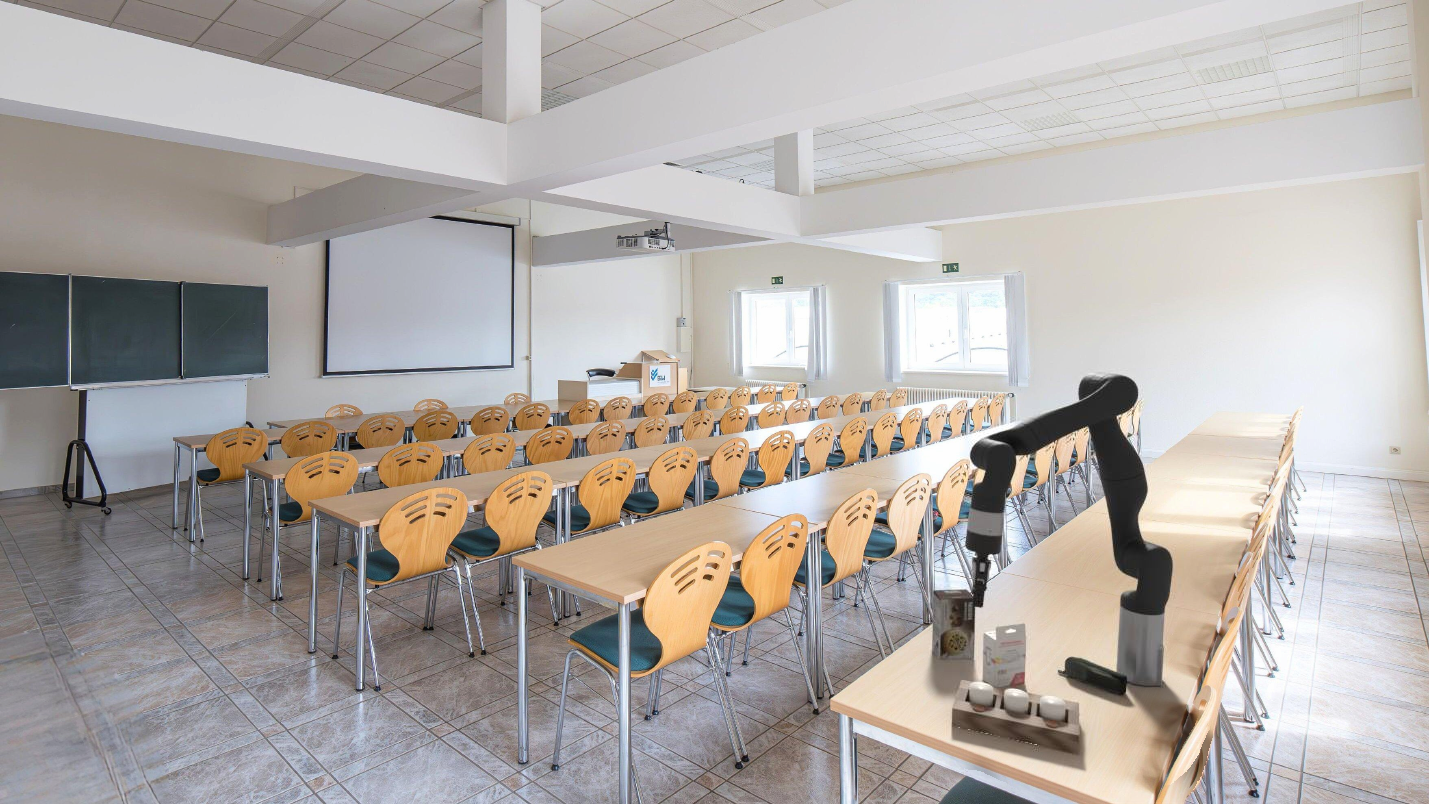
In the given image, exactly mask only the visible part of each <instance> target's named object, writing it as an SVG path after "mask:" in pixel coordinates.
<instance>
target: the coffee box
mask: <svg viewBox="0 0 1429 804" xmlns="http://www.w3.org/2000/svg"><path fill="white" fill-rule="evenodd" d="M932 597H933V598H932V631H931V632H932V635H931V637H932V640H931V642H932V643H931V648H932V649H931V650H932V651H933V652H934V654H935V655H936V657H937V658H938V659H939V660H962V659H963V660H964V659H965V660H967V659H972V660H973V659H975V643H976V642H975V641H976V640H975V637H976V636H975V635H976V634H975V633H976V630H975V629H976V626H975V625H976V607H974V606H973V605H972V602H973V594H972V592H970V591H969V590H968V589H964V588H963V589H934V590H933V592H932Z"/></svg>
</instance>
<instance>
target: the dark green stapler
mask: <svg viewBox="0 0 1429 804" xmlns="http://www.w3.org/2000/svg"><path fill="white" fill-rule="evenodd" d="M1057 673H1059V674H1061V675H1064V676H1067V677H1069V678H1072V679H1074V680H1078V681H1080V682H1082V683H1085V684H1088V685H1090V686H1092V687H1095V688H1098V689H1100V690H1103V691H1105V692H1108V693H1110V694H1113V695H1116V696H1117V695H1118V696H1123V695H1125V694H1126V693H1127V687H1128V685H1127V684H1128V682H1127V676H1125V675H1123V674H1121V673H1118V672H1116V670H1113V669H1110V668H1107V667H1105V666H1101V665H1100V664H1097V663H1095V662H1092V661H1090V660H1088V659H1085V658H1082V657H1076V656H1069V657H1067V658H1066V659H1065V661H1064V670H1060V669H1057Z"/></svg>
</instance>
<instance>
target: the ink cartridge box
mask: <svg viewBox="0 0 1429 804" xmlns="http://www.w3.org/2000/svg"><path fill="white" fill-rule="evenodd" d="M1026 629H1027V628H1026V624H1025V623H1023V622H1022V623H1017V624H1016V623H1015V624H1008V625H1001V626H999V625H998V626H996V627H995V630H993V631H983V639H982V640H983V643H982V645H983V646H982V680H983V681H984V682H985V683H987V684H989V685H991V686H996V687H1001V688H1004V687H1009V686H1014V685H1022V684H1024V683H1025V682H1026V659H1027V658H1026V653H1027V652H1026V651H1027V635H1026V633H1027V632H1026V631H1027V630H1026Z"/></svg>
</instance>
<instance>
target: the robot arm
mask: <svg viewBox="0 0 1429 804" xmlns="http://www.w3.org/2000/svg"><path fill="white" fill-rule="evenodd" d="M1077 391H1078V393H1077V395H1078V400H1077V401H1076V402H1072V403H1070V404H1067V405H1064V406H1060V407H1056V408H1053V409H1049V410H1046V411H1043V412H1041V413H1040V412H1039V413H1038V414H1035V415H1033V416H1032V417H1029V418H1028V419H1026V420H1024V421H1022V422H1020V423H1018V424H1017V425H1015V426H1013V427H1010V428H1008V429H1005V430H1001V431H998V432H995V433H993V434H989V435H987V436H984V437H982V438H981V439H979V440H978V441H976V442H975V443H974V444H973V446H972V447H971V449H970V453H969V458H970V462H971V463H972V465H974V467H976V468H977V469H979V470H982V471H984V476H983V477H982V481H979V482H978V481H977V482H976V483H974V485H973V487H972V491H971V499H970V500H971V501H970V509H969V512H968V517H967V526H966V532H965V533H966V534H965V542H964V543H965V544H964V545H965V548H966V549H967V550H969V551H970V552H973V553H974V552H975V554H974V556H973V555H972V557H971V572H972V575H971V579H972V588H971V594H972V596H973V602H972V605H973V606H974V607H975V608H979V609H982V608H984V600H985V594H986V593H985V592H986V591H987V589H988V587H987V583H988V582H989V580H990V570H991V569H992V559H991V558H989V556H990V555H992V556H994V555H999V554H1001V552H1002V543H1003V537H1004V536H1003V535H1004V527H1005V507H1006V506H1005V504H1006V494H1007V492H1008V490H1009V487H1010V485H1011V483H1012V480H1013V477H1014V475H1015V471H1016V467H1017V457H1018V456H1030V455H1032V454H1034V453H1036V452H1038V451H1040V450H1042V449H1044V448H1046V447H1048V446H1049V445H1052V443H1055V442H1057V441H1059V440H1060V439H1062V438H1065V437H1067V436H1069V435H1071V434H1073V433H1076V432H1078V431H1080V430H1083V429H1084V428H1088V431H1089V434H1090V437H1091V441H1092V446H1093V449H1094V453H1095V457H1096V462H1097V467H1098V473H1099V478H1100V481H1101V487H1102V490H1103V494H1104V498H1105V503H1106V508H1107V513H1108V518H1109V524H1110V531H1111V540H1112V551H1113V558H1114V561H1115V565H1116V567H1117V568H1118V570H1119V572H1121V573H1122V574H1124V575H1126V576H1128V577H1131V578H1134V579H1136V580H1137V585H1136V589H1134V590H1133V589H1132V590H1126V591H1124V592H1122V593H1121V595H1120V599H1119V600H1120V602H1119V619H1118V634H1117V637H1118V638H1117V652H1116V653H1117V654H1116V665H1115V666H1116V670H1115V672H1118V673H1121V674H1123V675H1125V676H1127V683H1130V684H1133V685H1137V686H1143V687H1144V686H1145V687H1155V686H1158V687H1163V686H1162V685H1163V672H1164V671H1163V670H1164V655H1165V654H1164V653H1165V652H1164V651H1165V646H1164V631H1165V630H1164V629H1165V613H1166V606H1167V604H1168V601H1169V599H1170V595H1171V585H1172V578H1173V569H1174V567H1173V566H1174V564H1173V563H1174V561H1173V556H1172V554H1171V553H1170V551H1169V550H1168V549H1167V548H1165V547H1163V546H1161V545H1158V544H1156V543H1153V542H1150V541H1146V540H1144V538H1143V536H1142V532H1141V529H1140V523H1139V516H1140V515H1139V514H1140V512H1141V510H1142V507H1143V506H1144V504H1145V501H1146V499H1147V496H1148V491H1149V487H1148V480H1147V477H1146V471H1145V467H1144V462H1143V460H1142V459H1141V457H1140V455H1139V453H1138V452H1137V451H1136V449H1135V448H1134V446H1133V445H1132V443H1131V442H1130V440H1129V439H1128V438H1127V436H1126V435H1125V434H1124V432H1123V430H1122V429H1121V426H1120V423H1119V421H1118V416H1121V415H1124V414H1125V413H1128V412H1129V411H1130V410H1132V409H1133V408H1134V407H1135V405H1136V404H1137V401H1138V398H1139V387H1138V385H1137V383H1136V382H1135V381H1134V379H1132V378H1131V377H1129V376H1126V375H1122V374H1118V373H1110V372H1108V373H1107V372H1095V371H1094V372H1090V373H1088V374H1086V375H1084V377H1082V379H1081V380H1080V382H1079V385H1078V389H1077Z"/></svg>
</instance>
